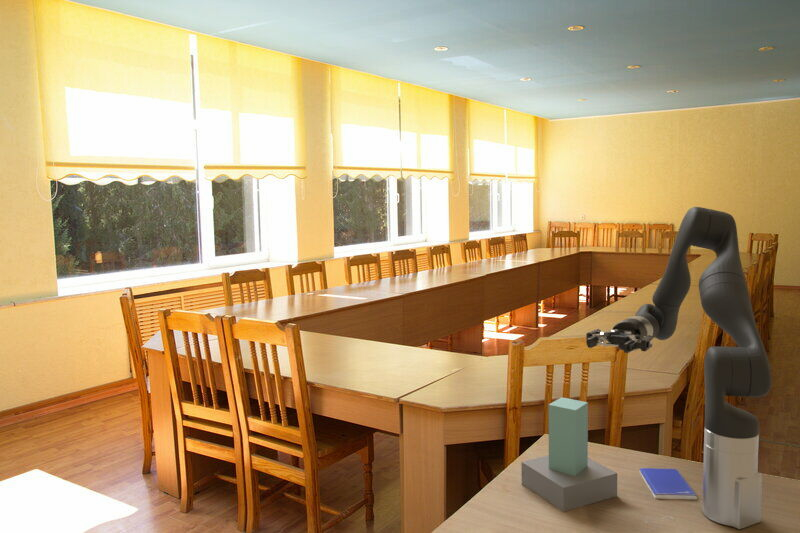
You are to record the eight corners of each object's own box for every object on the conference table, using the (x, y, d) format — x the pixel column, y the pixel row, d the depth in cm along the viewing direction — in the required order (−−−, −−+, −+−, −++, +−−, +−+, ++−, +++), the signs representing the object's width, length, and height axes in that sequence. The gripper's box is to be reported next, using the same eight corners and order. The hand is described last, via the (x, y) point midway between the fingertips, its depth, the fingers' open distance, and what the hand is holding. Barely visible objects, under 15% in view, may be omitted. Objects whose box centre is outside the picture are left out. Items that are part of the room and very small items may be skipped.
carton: (587, 465, 135) (587, 402, 133) (575, 475, 130) (575, 410, 129) (561, 459, 139) (561, 397, 137) (548, 468, 134) (548, 404, 133)
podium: (617, 496, 132) (617, 473, 131) (563, 511, 126) (563, 487, 125) (572, 470, 144) (572, 449, 144) (521, 483, 138) (521, 461, 138)
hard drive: (696, 494, 129) (677, 468, 141) (655, 493, 130) (639, 467, 142) (696, 501, 129) (677, 475, 142) (655, 500, 130) (639, 474, 143)
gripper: (604, 315, 161) (577, 326, 148) (662, 321, 152) (638, 333, 139) (604, 344, 162) (577, 357, 149) (662, 351, 152) (638, 366, 140)
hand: (607, 346), depth 144 cm, fingers open, 8 cm apart
